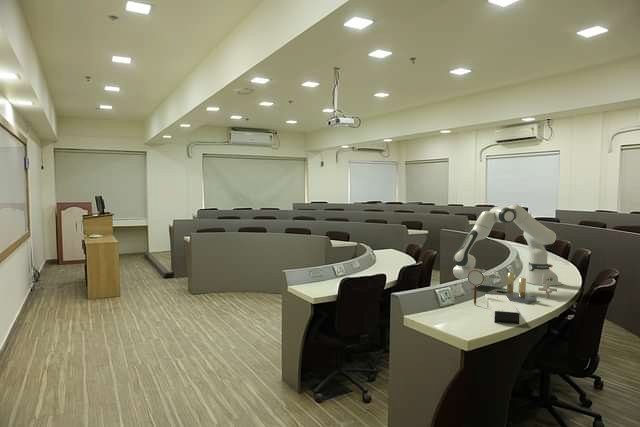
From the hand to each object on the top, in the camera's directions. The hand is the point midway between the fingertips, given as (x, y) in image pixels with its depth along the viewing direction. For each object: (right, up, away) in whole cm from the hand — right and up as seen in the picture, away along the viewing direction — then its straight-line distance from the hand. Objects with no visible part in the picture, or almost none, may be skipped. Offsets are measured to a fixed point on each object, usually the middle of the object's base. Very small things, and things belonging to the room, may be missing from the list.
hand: (496, 278), depth 265 cm
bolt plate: (+1, -9, -19) cm, 21 cm away
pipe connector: (+23, -9, -17) cm, 30 cm away
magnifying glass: (-27, -10, -34) cm, 45 cm away
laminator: (-19, -11, -50) cm, 54 cm away
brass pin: (+6, -8, -6) cm, 12 cm away
